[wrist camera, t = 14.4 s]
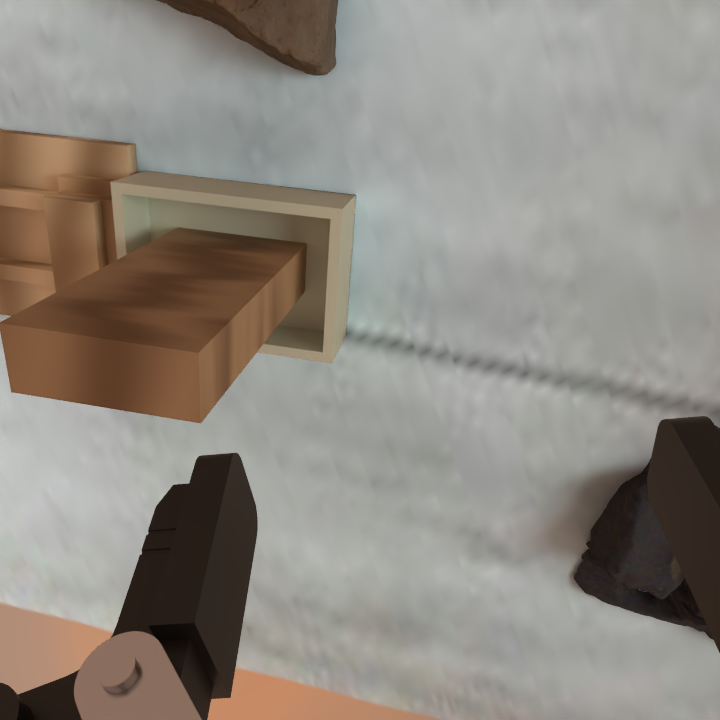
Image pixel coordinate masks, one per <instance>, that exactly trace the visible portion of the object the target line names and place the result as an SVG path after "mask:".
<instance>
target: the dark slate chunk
mask: <svg viewBox="0 0 720 720" xmlns="http://www.w3.org/2000/svg"><path fill="white" fill-rule="evenodd" d="M715 427H716V428H717V430H718V431H719V433H720V428H719V427H717V426H715ZM650 462H651V459H650V461H649V463H648V465H647V466H646V468H645V469H644V470H643V472H642V473H641V474H639V475H637V476H635V477H634V478H632V479H631V480H629V481H627V482H625V483H624V484H622V485H621V487H620V488H619V489H618V491H617V492H616V494H615V495H614V496H613V498H612V499H611V500H610V501H609V503H608V505H607V507H606V509H605V510H604V512H603V513H602V515H601V516H600V518H599V519H598V521H597V522H596V524H595V525H594V527H593V528H592V530H591V541H590V542H588V543H586V545H587V546H588V548H589V550H587V551H586V552H585V554H584V555H583V556H582V559H583V560H584V562H583V563H582V564H581V565H580V566H579V568H578V570H577V571H578V573H577V574H575V575H574V579H575V581H576V582H577V583H578V585H579V586H580V587H581V588H582V590H583V591H584V592H585V593H587V594H590V595H593V596H595V597H597V598H598V599H600V600H601V601H603V602H605V603H608V604H611V605H614V606H618V607H621V608H624V609H626V610H630V611H633V612H635V613H639V614H642V615H646V616H651V617H654V618H657V619H660V620H663V621H667V622H671V623H674V624H678V625H683V626H690V627H693V628H695V629H696V630H698V631H704V632H705V633H706V634H707V635H708V636H709V638H711V639H713V637H712V635H711V633H710V631H709V629H708V626H707V624H706V622H705V620H704V618H703V616H702V614H701V611H700V609H699V607H698V605H697V603H696V601H695V599H694V596H693V594H692V592H691V590H690V588H689V586H688V584H687V581H686V579H685V577H684V575H683V573H682V571H681V569H680V566H679V564H678V562H677V560H676V558H675V556H674V554H673V551H672V549H671V547H670V545H669V543H668V541H667V539H666V536H665V534H664V532H663V530H662V528H661V526H660V524H659V521H658V519H657V517H656V515H655V513H654V511H653V508H652V506H651V503H650V499H649V495H648V488H647V476H648V471H649V466H650ZM638 589H640V590H643V591H648V592H642V591H640V590H638ZM713 640H714V639H713Z"/></svg>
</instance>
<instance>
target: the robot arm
mask: <svg viewBox="0 0 720 720" xmlns="http://www.w3.org/2000/svg"><path fill="white" fill-rule="evenodd" d="M647 488H648V495H649V499H650V503H651V506H652V508H653V511H654V513H655V515H656V517H657V519H658V521H659V524H660V526H661V528H662V530H663V532H664V534H665V536H666V539H667V541H668V543H669V545H670V547H671V549H672V551H673V554H674V556H675V558H676V560H677V562H678V564H679V566H680V569H681V571H682V573H683V575H684V577H685V579H686V581H687V584H688V586H689V588H690V590H691V592H692V594H693V596H694V599H695V601H696V603H697V605H698V607H699V609H700V611H701V614H702V616H703V618H704V620H705V622H706V624H707V626H708V629H709V631H710V633H711V635H712V637H713V639H714V641H715V644H716V646H717V648H718V650H719V652H720V433H719V431H718V430H717V428H716V427H715V425H714V424H713V422H712V421H711V420H710V419H709V418H708V417H705V416H700V417H688V418H675V419H664V420H662V421H661V422H660V423H659V426H658V429H657V434H656V439H655V443H654V448H653V452H652V457H651V462H650V466H649V471H648V476H647ZM148 531H149V534H148V535H147V536H146V539H145V542H144V545H143V548H142V555H140V557H139V560H138V563H137V566H136V569H135V572H134V575H133V578H132V581H131V584H130V587H129V590H128V593H127V596H126V599H125V602H124V605H123V608H122V611H121V614H120V617H119V620H118V623H117V626H116V628H115V630H114V633H113V635H112V637H111V638H110V639H108V640H106V641H105V642H103V643H102V644H101V645H99V646H98V647H97V648H96V649H95V650H94V651H93V652H92V653H91V654H90V655H89V656H88V657H87V659H86V660H85V661H84V663H83V664H82V666H81V668H80V669H79V670H78V671H76V672H74V673H72V674H70V675H68V676H66V677H63V678H61V679H58V680H56V681H53V682H50V683H48V684H45V685H42V686H40V687H37V688H35V689H32V690H29V691H26V692H24V693H21V694H19V695H17V694H16V692H15V691H14V690H13V689H12V688H11V687H9V686H8V685H6V684H3V683H0V720H207V718H208V712H209V707H210V702H211V699H216V698H230V697H231V691H232V685H233V679H234V672H235V666H236V660H237V654H238V648H239V642H240V636H241V630H242V623H243V617H244V611H245V605H246V599H247V593H248V587H249V580H250V574H251V568H252V562H253V556H254V550H255V544H256V538H257V510H256V505H255V501H254V498H253V495H252V492H251V489H250V486H249V482H248V479H247V476H246V473H245V470H244V467H243V463H242V460H241V458H240V456H239V454H238V453H229V454H216V455H204V456H199V457H198V458H197V460H196V463H195V466H194V469H193V473H192V476H191V479H190V483H189V484H178V485H173V486H172V487H171V489H170V490H169V491H168V492H167V494H166V495H165V496H164V497H163V499H162V500H161V501H160V502H159V504H158V505H157V506H156V508H155V511H154V514H153V517H152V521H151V524H150V527H149V530H148Z"/></svg>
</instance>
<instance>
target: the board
mask: <svg viewBox="0 0 720 720" xmlns="http://www.w3.org/2000/svg"><path fill="white" fill-rule="evenodd" d="M306 252H307V243H301V242H293V241H285V240H277V239H269V238H261V237H253V236H245V235H237V234H229V233H221V232H213V231H205V230H197V229H189V228H181V227H178V228H176V229H174V230H172V231H170V232H168V233H167V234H165V235H163V236H161V237H159V238H157V239H155V240H153V241H152V242H150V243H148V244H146V245H144V246H142V247H140V248H138V249H137V250H135V251H133V252H131V253H129V254H127V255H125V256H123V257H122V258H120V259H118V260H116V261H114V262H112V263H110V264H108V265H107V266H105V267H103V268H101V269H99V270H97V271H95V272H93V273H92V274H90V275H88V276H86V277H84V278H82V279H80V280H79V281H77V282H75V283H73V284H71V285H69V286H67V287H65V288H64V289H62V290H60V291H58V292H56V293H54V294H52V295H50V296H49V297H47V298H45V299H43V300H41V301H39V302H37V303H35V304H34V305H32V306H30V307H28V308H26V309H24V310H22V311H20V312H19V313H17V314H15V315H13V316H11V317H9V318H7V319H5V320H4V321H2V322H0V331H1V337H2V342H3V348H4V354H5V359H6V365H7V370H8V376H9V381H10V387H11V392H15V393H21V394H27V395H33V396H39V397H45V398H51V399H57V400H63V401H69V402H75V403H81V404H87V405H93V406H99V407H106V408H112V409H118V410H124V411H130V412H136V413H142V414H148V415H154V416H160V417H166V418H172V419H178V420H184V421H190V422H197V423H201V422H202V421H203V420H204V419H205V417H206V416H207V415H208V413H209V412H210V411H211V410H212V408H213V407H214V406H215V405H216V403H217V402H218V401H219V400H220V398H221V397H222V396H223V394H224V393H225V392H226V391H227V389H228V388H229V387H230V386H231V384H232V383H233V382H234V381H235V379H236V378H237V377H238V375H239V374H240V373H241V372H242V370H243V369H244V368H245V367H246V365H247V364H248V363H249V361H250V360H251V359H252V358H253V356H254V355H255V354H256V353H257V351H258V350H259V349H260V348H261V346H262V345H263V344H264V342H265V341H266V340H267V339H268V337H269V336H270V335H271V334H272V332H273V331H274V330H275V329H276V327H277V326H278V325H279V323H280V322H281V321H282V320H283V318H284V317H285V316H286V315H287V313H288V312H289V311H290V310H291V308H292V307H293V306H294V304H295V303H296V302H297V301H298V299H299V298H300V297H301V296H302V294H303V293H304V292H305V275H306Z"/></svg>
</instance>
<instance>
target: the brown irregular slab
mask: <svg viewBox="0 0 720 720" xmlns="http://www.w3.org/2000/svg"><path fill="white" fill-rule="evenodd" d="M158 1H160V2H163V3H167V4H168V5H170V6H171V7H173V8H175V9H176V10H178V11H180V12H184V13H187V14H191V15H194V16H200V17H202V18H204V19H206V20H210V21H212V22H213V23H215V24H218V25H220V26H222V27H224V28H225V29H227V30H228V31H229V32H230V33H232V34H233V35H234V36H235V37H236V38H239V39H241V40H243V41H245V42H248V43H250V44H251V45H253V46H254V47H256V48H257V49H259V50H261V51H263V52H264V53H266V54H267V55H269V56H271V57H273V58H275V59H276V60H278V61H280V62H282V63H284V64H286V65H288V66H290V67H293V68H295V69H297V70H301V71H304V72H305V73H307V74H312V75H326V74H327V73H329V72H330V71H331V70H332V69H333V68H334V67H335V65H336V58H335V47H336V30H335V24H336V15H337V6H338V0H158Z"/></svg>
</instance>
